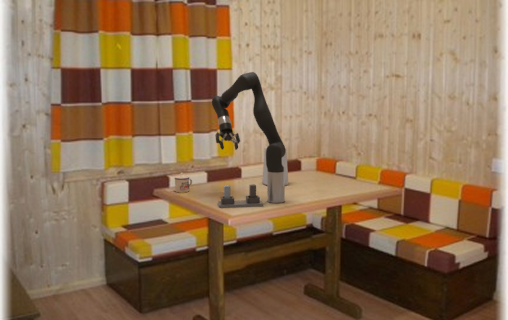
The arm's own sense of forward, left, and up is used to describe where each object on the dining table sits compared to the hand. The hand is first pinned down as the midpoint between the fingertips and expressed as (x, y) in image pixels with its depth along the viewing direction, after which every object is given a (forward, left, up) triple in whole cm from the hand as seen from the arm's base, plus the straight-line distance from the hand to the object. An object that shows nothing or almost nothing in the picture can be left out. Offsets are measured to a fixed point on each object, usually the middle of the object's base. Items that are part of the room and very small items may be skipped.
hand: (229, 149), depth 313 cm
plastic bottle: (-34, -34, -29) cm, 56 cm away
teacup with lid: (+26, -22, -29) cm, 45 cm away
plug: (+4, +22, -27) cm, 35 cm away
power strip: (-3, +22, -28) cm, 36 cm away
